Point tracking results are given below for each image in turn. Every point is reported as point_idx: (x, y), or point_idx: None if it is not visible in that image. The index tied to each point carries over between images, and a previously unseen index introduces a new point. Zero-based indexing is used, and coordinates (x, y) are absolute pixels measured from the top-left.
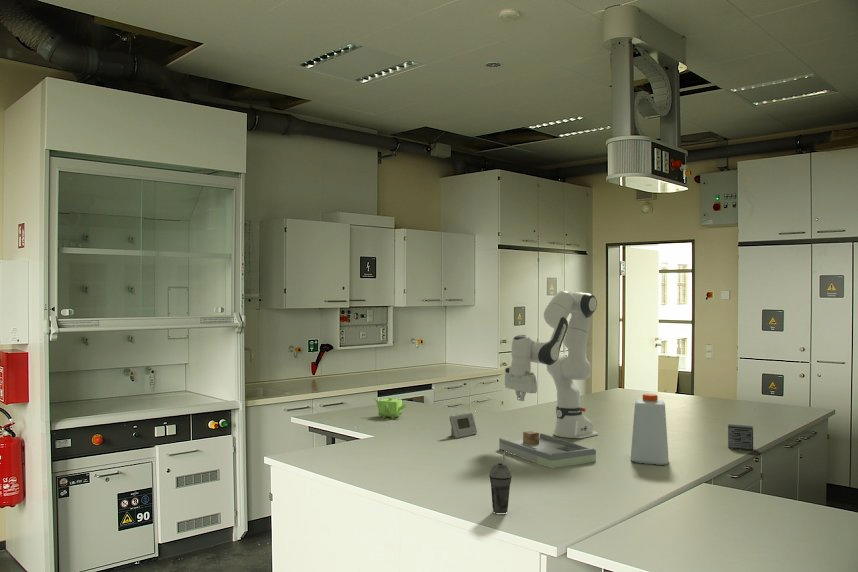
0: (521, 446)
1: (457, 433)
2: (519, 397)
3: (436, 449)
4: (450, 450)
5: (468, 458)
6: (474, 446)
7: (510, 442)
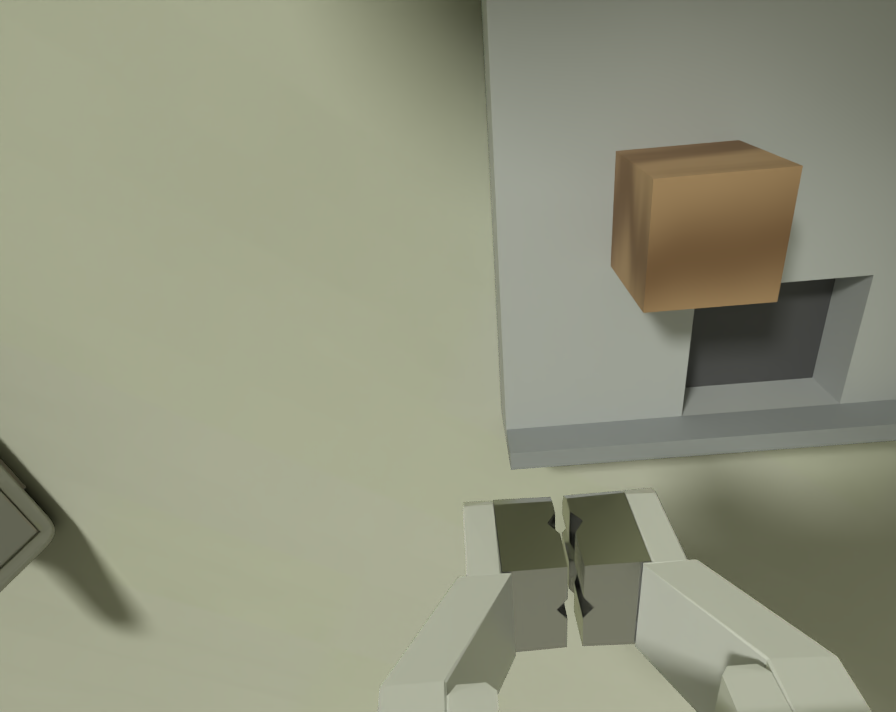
0: (840, 440)
1: (31, 542)
2: (594, 632)
3: (351, 698)
4: None
5: (616, 646)
6: (346, 515)
7: (679, 454)
